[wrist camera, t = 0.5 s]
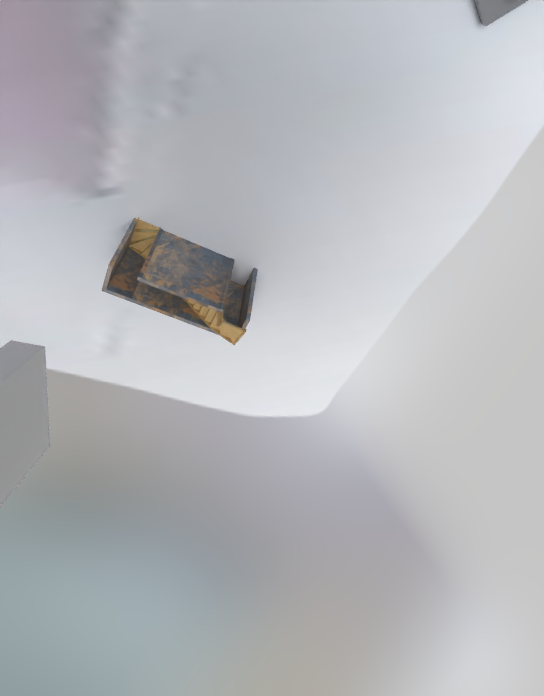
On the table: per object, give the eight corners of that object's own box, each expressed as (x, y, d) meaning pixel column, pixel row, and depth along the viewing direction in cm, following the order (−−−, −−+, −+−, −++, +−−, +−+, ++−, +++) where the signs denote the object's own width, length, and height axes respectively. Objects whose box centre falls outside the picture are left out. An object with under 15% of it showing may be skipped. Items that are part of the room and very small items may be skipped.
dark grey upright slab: (259, 262, 45) (249, 333, 37) (246, 287, 46) (234, 359, 39) (137, 210, 42) (101, 276, 35) (128, 239, 44) (92, 307, 37)
